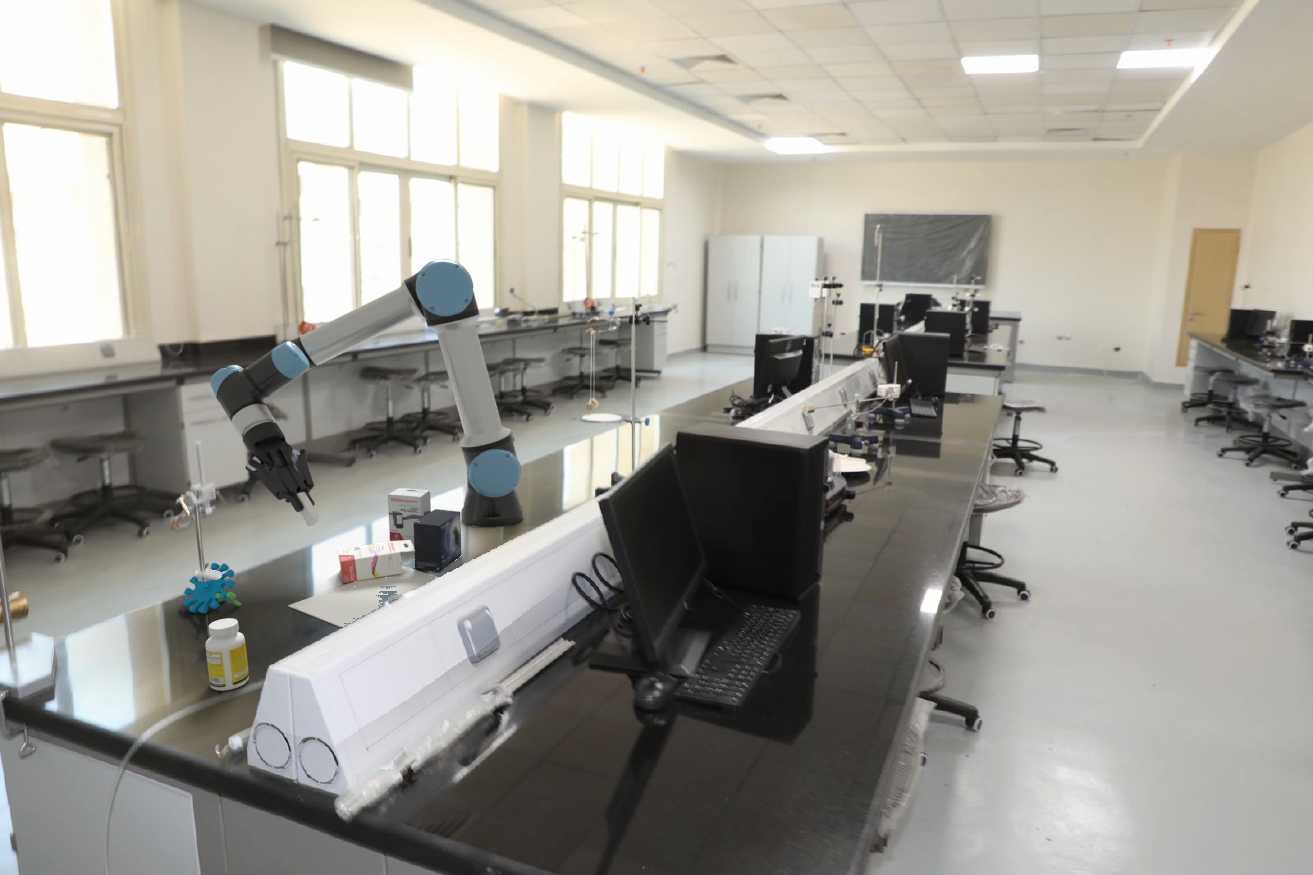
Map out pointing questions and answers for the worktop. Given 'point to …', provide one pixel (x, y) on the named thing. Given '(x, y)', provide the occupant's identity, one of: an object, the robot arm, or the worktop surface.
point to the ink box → (406, 512)
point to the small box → (437, 540)
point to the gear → (211, 591)
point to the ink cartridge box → (372, 560)
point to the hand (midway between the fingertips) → (314, 521)
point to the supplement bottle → (226, 655)
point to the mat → (359, 597)
